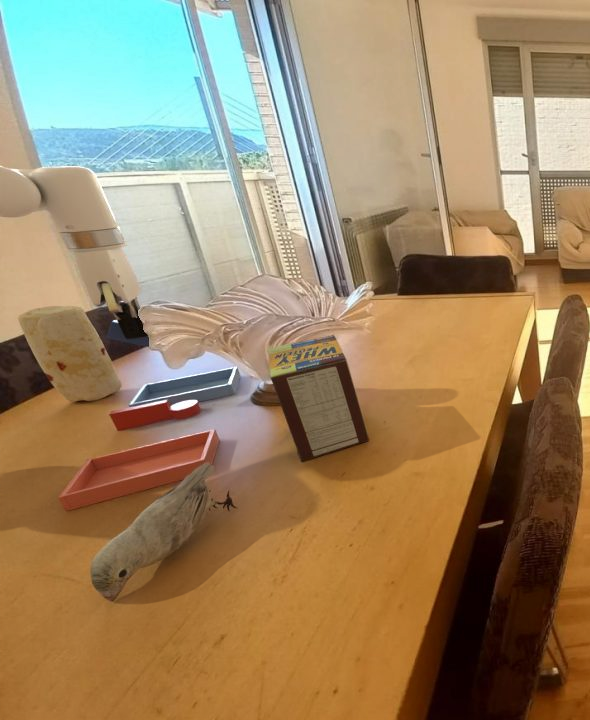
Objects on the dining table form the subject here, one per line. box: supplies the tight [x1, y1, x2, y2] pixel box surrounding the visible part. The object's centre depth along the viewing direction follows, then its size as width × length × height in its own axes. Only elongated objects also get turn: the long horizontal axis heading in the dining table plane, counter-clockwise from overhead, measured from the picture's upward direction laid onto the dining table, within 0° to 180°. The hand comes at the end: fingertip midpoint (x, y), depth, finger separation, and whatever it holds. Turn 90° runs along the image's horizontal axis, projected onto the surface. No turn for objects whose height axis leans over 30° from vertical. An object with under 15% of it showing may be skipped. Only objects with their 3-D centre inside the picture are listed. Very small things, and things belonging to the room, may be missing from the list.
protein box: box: [267, 334, 370, 462], centre depth 82 cm, size 10×15×16 cm
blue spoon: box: [106, 319, 150, 348], centre depth 94 cm, size 12×4×4 cm, turn 121°
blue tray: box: [128, 366, 242, 408], centre depth 101 cm, size 16×11×2 cm
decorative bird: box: [89, 462, 237, 603], centre depth 58 cm, size 5×16×8 cm, turn 177°
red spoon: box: [109, 400, 202, 431], centre depth 91 cm, size 12×4×4 cm, turn 122°
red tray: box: [57, 428, 221, 512], centre depth 75 cm, size 16×11×2 cm
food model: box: [17, 305, 123, 402], centre depth 98 cm, size 10×7×20 cm
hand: (138, 335), depth 92 cm, fingers closed on blue spoon, 1 cm apart
